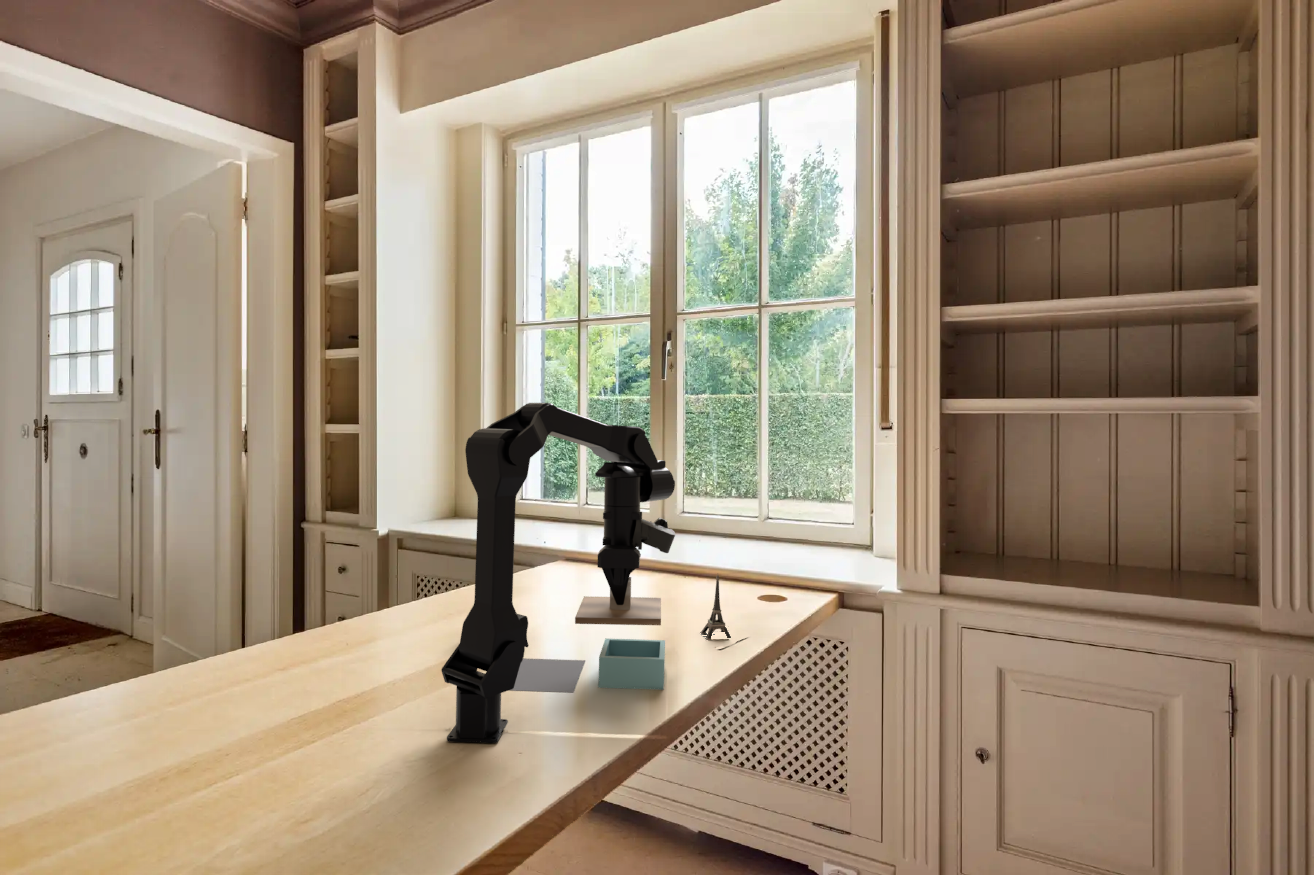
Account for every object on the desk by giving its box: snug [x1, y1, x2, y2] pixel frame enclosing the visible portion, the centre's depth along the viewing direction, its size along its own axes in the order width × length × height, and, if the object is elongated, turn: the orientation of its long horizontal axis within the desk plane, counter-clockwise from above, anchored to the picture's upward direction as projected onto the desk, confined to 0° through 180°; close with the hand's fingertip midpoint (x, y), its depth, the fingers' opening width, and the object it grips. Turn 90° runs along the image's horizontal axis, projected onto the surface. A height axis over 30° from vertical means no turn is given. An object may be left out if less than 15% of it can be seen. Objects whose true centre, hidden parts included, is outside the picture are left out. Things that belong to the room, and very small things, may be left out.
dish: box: [597, 638, 666, 691], centre depth 118 cm, size 10×10×5 cm
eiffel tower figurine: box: [699, 574, 731, 641], centre depth 143 cm, size 15×10×13 cm
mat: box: [508, 657, 586, 694], centre depth 118 cm, size 15×15×1 cm
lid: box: [574, 576, 662, 626], centre depth 118 cm, size 13×13×6 cm
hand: (620, 602), depth 118 cm, fingers closed on lid, 3 cm apart
